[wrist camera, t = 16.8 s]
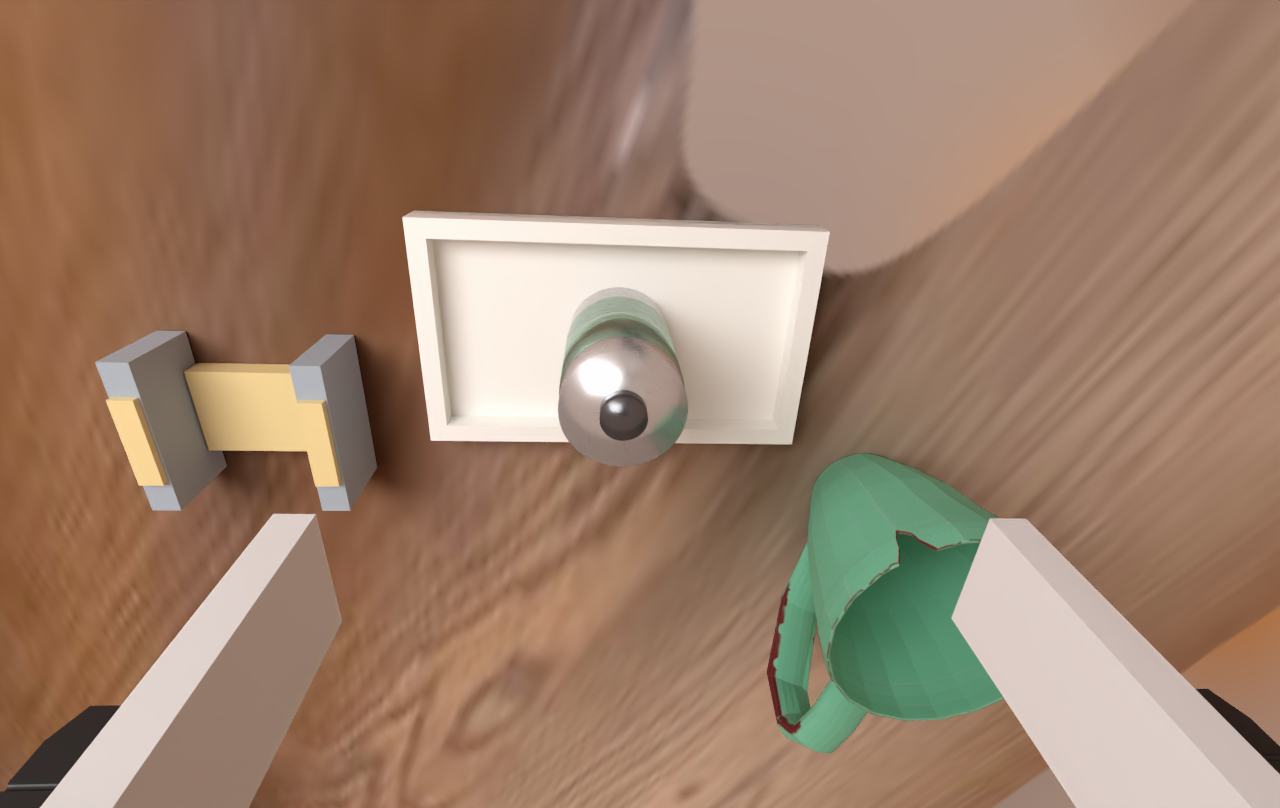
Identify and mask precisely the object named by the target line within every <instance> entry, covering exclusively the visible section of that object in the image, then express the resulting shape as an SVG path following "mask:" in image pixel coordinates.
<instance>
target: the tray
mask: <svg viewBox="0 0 1280 808" xmlns="http://www.w3.org/2000/svg"><path fill="white" fill-rule="evenodd" d="M402 218H403V226H404V234H405V242H406V249H407V257H408V265H409V273H410V281H411V289H412V296H413V304H414V312H415V320H416V328H417V336H418V343H419V351H420V359H421V367H422V375H423V383H424V390H425V398H426V406H427V414H428V422H429V430H430V437H431V441H513V442H569V441H568V440H567V438H566V436H565V435H564V433H563V431H562V428H561V426H560V422H559V417H558V402H559V385H560V379H561V373H562V366H563V360H564V353H565V347H566V340H567V336H568V332H569V329H570V324H571V320H572V317H573V315H574V313H575V311H576V309H577V308H578V307H579V305H580V304H581V303H582V302H583V301H584V300H585V299H586V298H588V297H589V296H590V295H592V294H594V293H596V292H598V291H600V290H603V289H607V288H612V287H624V288H630V289H634V290H637V291H639V292H641V293H643V294H645V295H646V296H648V297H649V298H651V299H652V300H653V301H654V302H655V303H656V305H657V306H658V307H659V308H660V310H661V312H662V314H663V316H664V318H665V321H666V324H667V326H668V329H669V331H670V335H671V338H672V342H673V345H674V349H675V352H676V356H677V359H678V362H679V366H680V369H681V373H682V376H683V380H684V386H685V392H686V396H687V401H688V415H687V420H686V424H685V427H684V429H683V431H682V433H681V435H680V436H679V438H678V440H677V441H676V442H675V443H705V444H792V440H793V435H794V429H795V424H796V418H797V413H798V407H799V401H800V396H801V390H802V385H803V379H804V374H805V368H806V363H807V357H808V351H809V346H810V340H811V335H812V329H813V324H814V318H815V313H816V307H817V301H818V296H819V290H820V285H821V279H822V274H823V268H824V262H825V257H826V250H827V245H828V240H829V234H830V232H829V231H827V230H825V229H824V228H822V227H820V226H818V225H805V224H804V225H803V224H775V223H749V222H721V221H693V220H665V219H637V218H610V217H582V216H554V215H526V214H498V213H470V212H442V211H412V212H410V213H409V214H407V215H405V216H403V217H402Z"/></svg>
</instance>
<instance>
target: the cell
mask: <svg viewBox="0 0 1280 808" xmlns="http://www.w3.org/2000/svg"><path fill="white" fill-rule="evenodd" d="M687 415H688V401H687V396H686V392H685V386H684V380H683V376H682V373H681V369H680V366H679V362H678V359H677V356H676V352H675V349H674V345H673V342H672V338H671V335H670V331H669V329H668V326H667V324H666V321H665V318H664V316H663V314H662V312H661V310H660V308H659V307H658V306H657V305H656V303H655V302H654V301H653V300H652V299H651V298H649V297H648V296H646V295H645V294H643V293H641V292H639V291H637V290H634V289H630V288H624V287H612V288H607V289H603V290H600V291H598V292H596V293H594V294H592V295H590V296H589V297H588V298H586V299H585V300H584V301H583V302H582V303H581V304H580V305H579V307H578V308H577V309H576V311H575V313H574V315H573V317H572V320H571V324H570V329H569V332H568V336H567V340H566V347H565V353H564V360H563V366H562V373H561V379H560V385H559V402H558V417H559V422H560V426H561V428H562V431H563V433H564V435H565V436H566V438H567V440H568V441H569V442H570V444H571V445H572V446H573V447H574V448H575V449H576V450H577V451H578V452H580V453H581V454H582V455H584V456H586V457H587V458H589V459H591V460H593V461H595V462H598V463H601V464H605V465H610V466H619V467H625V466H634V465H639V464H643V463H646V462H649V461H651V460H653V459H655V458H657V457H659V456H660V455H662V454H663V453H665V452H666V451H667V450H668V449H669V448H671V447H672V446H673V444H674V443H675V442H676V441H677V440H678V438H679V436H680V435H681V433H682V431H683V429H684V427H685V424H686V420H687Z"/></svg>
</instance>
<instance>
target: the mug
mask: <svg viewBox="0 0 1280 808" xmlns="http://www.w3.org/2000/svg"><path fill="white" fill-rule="evenodd" d="M990 518H999V517H997V516H995V515H994V514H992V513H990V512H988V511H986V510H985V509H983V508H981V507H979V506H978V505H977V504H975V503H974V502H972V501H971V500H970V499H968V498H967V497H965V496H964V495H963V494H961V493H960V492H958V491H957V490H956V489H954V488H953V487H951V486H950V485H948V484H946V483H944V482H942V481H940V480H938V479H935V478H933V477H931V476H929V475H927V474H925V473H923V472H921V471H919V470H917V469H915V468H912V467H909V466H906V465H903V464H901V463H898V462H895V461H892V460H890V459H887V458H884V457H881V456H877V455H874V454H854V455H851V456H848V457H844V458H841V459H839V460H837V461H836V462H834V463H832V464H830V465H829V466H828V467H827V468H826V469H825V470H824V471H823V472H822V473H821V474H820V475H819V477H818V479H817V480H816V482H815V484H814V486H813V490H812V495H811V503H810V512H809V521H808V541H807V543H806V545H805V547H804V550H803V552H802V554H801V556H800V558H799V560H798V562H797V565H796V567H795V569H794V571H793V573H792V575H791V578H790V580H789V582H788V584H787V586H786V588H785V590H784V593H783V595H782V598H781V603H780V608H779V613H778V618H777V624H776V629H775V634H774V639H773V644H772V649H771V654H770V659H769V664H768V669H767V675H768V680H769V685H770V690H771V695H772V700H773V705H774V710H775V715H776V720H777V724H778V726H779V728H780V730H781V731H782V733H783V734H784V735H785V736H786V738H788V739H790V740H792V741H794V742H797V743H799V744H801V745H803V746H805V747H807V748H809V749H812V750H814V751H817V752H821V753H831V752H833V751H834V750H835V749H836V748H837V747H838V746H839V745H840V744H841V743H843V742H844V741H845V740H846V739H847V738H848V737H849V736H850V735H851V734H852V733H853V732H854V730H855V729H856V728H857V726H858V725H859V723H860V722H861V720H862V719H863V717H864V716H865V714H866V713H867V712H869V713H871V714H874V715H879V716H883V717H888V718H893V719H898V720H903V721H916V720H940V719H945V718H949V717H953V716H958V715H962V714H966V713H970V712H975V711H977V710H979V709H982V708H984V707H986V706H988V705H991V704H993V703H995V702H997V701H1000V700H1002V699H1004V697H1003V696H1002V694H1001V693H1000V691H999V690H998V688H997V687H996V685H995V684H994V682H993V681H992V679H991V678H990V676H989V675H988V673H987V672H986V670H985V669H984V667H983V666H982V664H981V663H980V661H979V660H978V658H977V656H976V655H975V653H974V652H973V650H972V649H971V647H970V646H969V644H968V643H967V641H966V640H965V638H964V637H963V635H962V634H961V632H960V631H959V629H958V628H957V626H956V625H955V623H954V622H953V620H952V619H951V618H952V615H953V612H954V610H955V607H956V605H957V602H958V600H959V597H960V594H961V592H962V589H963V587H964V584H965V581H966V579H967V576H968V574H969V571H970V568H971V566H972V563H973V561H974V558H975V555H976V553H977V550H978V548H979V545H980V542H981V540H982V537H983V535H984V532H985V529H986V527H987V524H988V522H989V519H990ZM816 622H817V627H818V634H819V639H820V644H821V648H822V653H823V657H824V661H825V665H826V668H827V671H828V673H829V676H830V678H831V679H830V681H829V683H828V684H827V686H826V687H825V689H824V690H823V692H822V693H821V695H820V696H819V698H818V699H817V701H816V703H815V704H814V706H813V707H812V708H810V703H809V698H808V693H807V690H808V678H809V671H810V664H811V657H812V650H813V643H814V636H815V629H816Z"/></svg>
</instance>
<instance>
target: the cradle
mask: <svg viewBox="0 0 1280 808" xmlns="http://www.w3.org/2000/svg"><path fill="white" fill-rule="evenodd" d="M95 363H96V366H97V368H98V371H99V374H100V376H101V379H102V381H103V384H104V386H105V389H106V392H107V394H108V397H109V399H107V400H106V402H107V405H108V408H109V410H110V413H111V415H112V418H113V420H114V423H115V425H116V428H117V431H118V433H119V436H120V438H121V441H122V443H123V446H124V448H125V451H126V454H127V456H128V459H129V461H130V464H131V466H132V469H133V471H134V474H135V477H136V479H137V482H138V484H139V486H143V487H144V490H145V492H146V495H147V497H148V500H149V503H150V505H151V508H152V510H182V509H183V508H184V507H185V506H186V505H187V504H188V503H189V502H190V501H191V500H192V499H194V498H195V497H196V496H197V495H198V494H199V493H200V492H201V491H202V490H203V489H204V488H205V487H206V486H207V485H208V484H209V483H210V482H211V481H212V480H213V479H214V478H215V477H216V476H217V475H218V474H219V473H220V472H222V471H223V470H224V469H225V468H226V467H227V464H226V461H225V458H224V455H223V451H307V453H308V457H309V461H310V466H311V470H312V474H313V478H314V483H315V486H317V489H318V493H319V498H320V502H321V506H322V511H350V510H351V509H352V507H353V506H354V504H355V502H356V501H357V499H358V498H359V496H360V494H361V493H362V491H363V489H364V488H365V486H366V485H367V483H368V481H369V480H370V478H371V477H372V475H373V473H374V472H375V470H376V469H377V463H376V457H375V452H374V446H373V440H372V435H371V429H370V423H369V418H368V412H367V406H366V401H365V395H364V390H363V384H362V378H361V373H360V367H359V361H358V356H357V350H356V344H355V339H354V335H332V334H326V335H325V336H324V337H322V338H321V339H320V340H319V341H318V342H316V343H315V344H314V345H313V346H312V347H310V348H309V349H308V350H307V351H306V352H305V353H303V354H302V355H301V356H300V357H299V358H297V359H296V360H295V361H294V362H293V363H291V364H290V365H288V364H234V363H197V364H195V360H194V357H193V354H192V351H191V347H190V344H189V341H188V338H187V334H186V331H155V332H153V333H151V334H149V335H147V336H145V337H143V338H142V339H140V340H138V341H136V342H134V343H132V344H130V345H128V346H126V347H124V348H122V349H120V350H118V351H116V352H114V353H112V354H110V355H108V356H106V357H104V358H102V359H100V360H98V361H96V362H95Z"/></svg>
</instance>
